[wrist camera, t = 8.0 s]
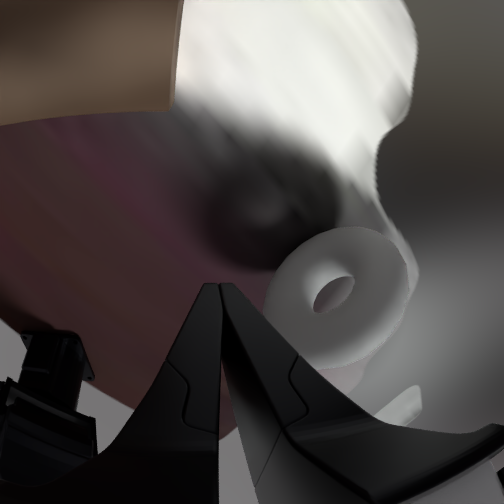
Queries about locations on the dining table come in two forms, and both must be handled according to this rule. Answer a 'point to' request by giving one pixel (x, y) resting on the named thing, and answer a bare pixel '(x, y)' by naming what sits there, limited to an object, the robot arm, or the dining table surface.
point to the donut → (352, 309)
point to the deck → (87, 57)
